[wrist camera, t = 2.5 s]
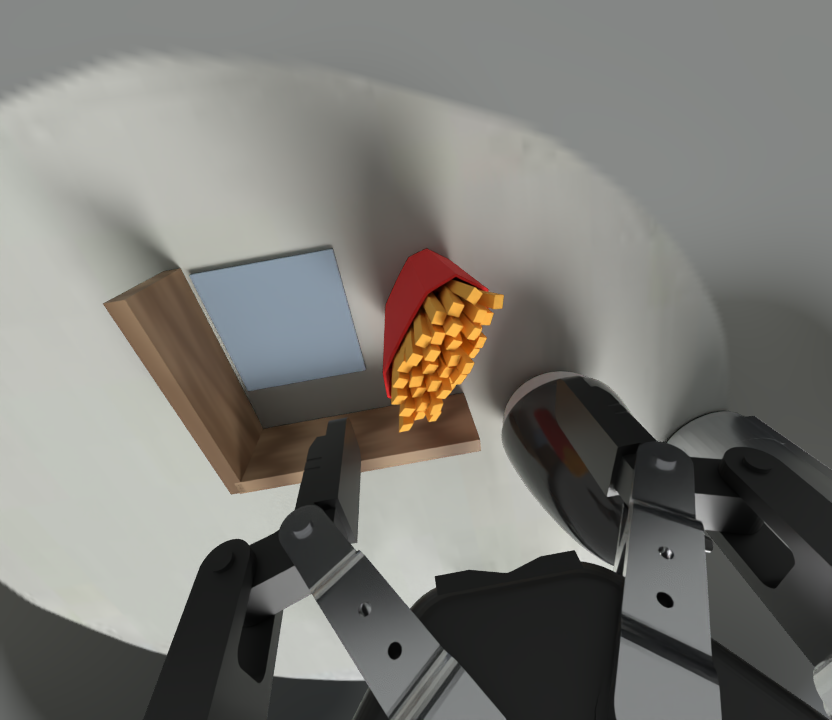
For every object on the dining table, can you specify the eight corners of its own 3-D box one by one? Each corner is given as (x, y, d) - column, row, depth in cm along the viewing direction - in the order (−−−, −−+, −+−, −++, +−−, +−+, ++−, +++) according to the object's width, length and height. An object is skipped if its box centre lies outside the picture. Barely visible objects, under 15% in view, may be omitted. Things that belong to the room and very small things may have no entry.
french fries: (417, 343, 28) (438, 451, 18) (373, 325, 27) (368, 430, 17) (470, 248, 25) (534, 314, 14) (421, 223, 24) (453, 275, 13)
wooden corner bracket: (445, 220, 24) (464, 238, 18) (464, 403, 32) (480, 450, 27) (163, 271, 24) (102, 303, 18) (255, 440, 32) (231, 495, 27)
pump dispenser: (570, 444, 36) (678, 608, 23) (476, 435, 34) (535, 608, 21) (617, 361, 31) (789, 510, 18) (510, 346, 29) (615, 499, 16)
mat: (332, 248, 24) (332, 249, 24) (365, 368, 29) (365, 370, 29) (191, 274, 24) (189, 275, 24) (249, 389, 29) (248, 391, 29)
